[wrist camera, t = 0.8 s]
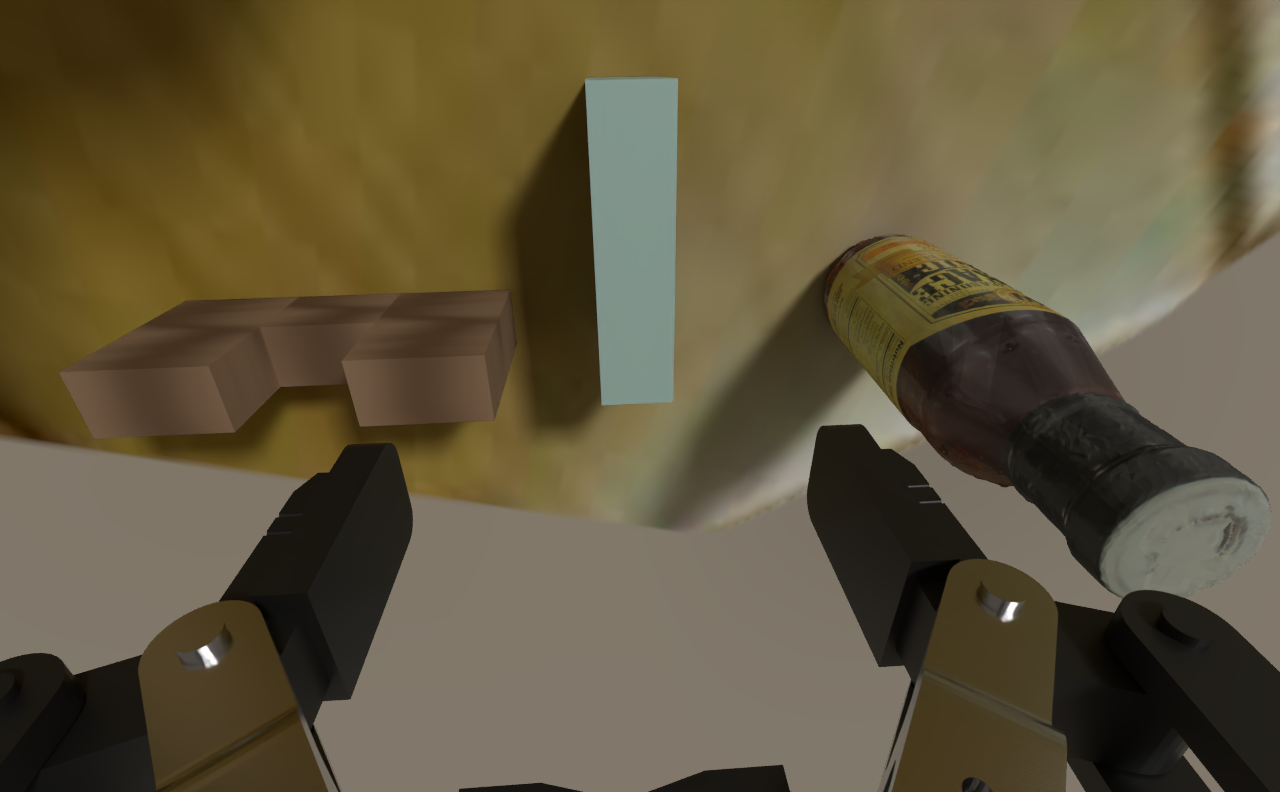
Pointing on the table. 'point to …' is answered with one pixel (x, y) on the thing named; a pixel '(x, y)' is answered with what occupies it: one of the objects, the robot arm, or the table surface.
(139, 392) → the walnut u-shaped block
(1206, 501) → the sauce bottle
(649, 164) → the teal board
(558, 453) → the table surface
